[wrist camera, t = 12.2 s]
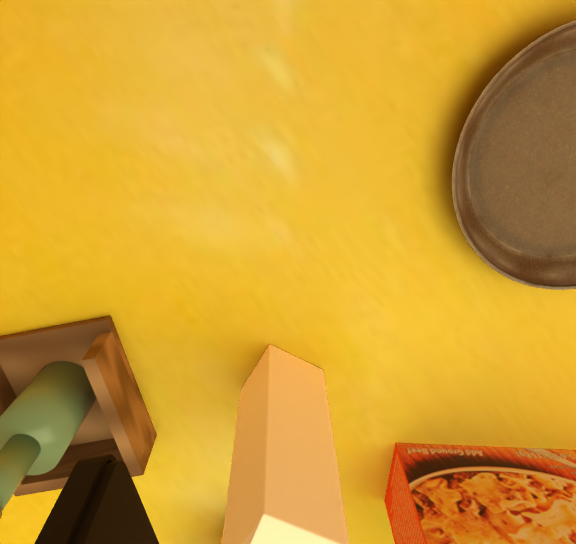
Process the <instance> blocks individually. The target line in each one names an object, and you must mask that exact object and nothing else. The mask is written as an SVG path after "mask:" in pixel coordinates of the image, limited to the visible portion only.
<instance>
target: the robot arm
mask: <svg viewBox="0 0 576 544" xmlns="http://www.w3.org/2000/svg"><path fill="white" fill-rule="evenodd" d="M35 544H159V542H158V540H157V537H156V535H155V533H154V530H153V528H152V526H151V523H150V521H149V518H148V516H147V514H146V511H145V509H144V506H143V504H142V502H141V499H140V497H139V494H138V492H137V490H136V487H135V485H134V483H133V480H132V478H131V475H130V473H129V471H128V468H127V466H126V464H125V462H123V461H117V460H116V458H115V456H113V455H112V454H107V455H101V456H95V457H89V458H83V459H80V460H79V461H78V462H77V463H76V465H75V466H74V468H73V470H72V472H71V474H70V476H69V478H68V480H67V482H66V484H65V486H64V487H63V489H62V491H61V493H60V495H59V497H58V499H57V501H56V503H55V505H54V507H53V509H52V511H51V513H50V515H49V517H48V519H47V520H46V522H45V524H44V526H43V528H42V530H41V532H40V534H39V536H38V538H37V540H36V542H35Z"/></svg>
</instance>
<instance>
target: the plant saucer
mask: <svg viewBox="0 0 576 544" xmlns="http://www.w3.org/2000/svg"><path fill="white" fill-rule="evenodd" d="M452 197H453V204H454V209H455V213H456V217H457V220H458V223H459V225H460V228H461V230H462V232H463V235H464V236H465V238H466V240H467V242H468V243H469V245H470V246H471V248H472V249H473V250H474V251H475V253H476V254H477V255H478V256H479V257H480V258H481V259H482V260H483V261H484V262H485V263H486V264H487V265H489V266H490V267H491V268H492V269H494V270H495V271H497V272H498V273H500V274H502V275H503V276H505V277H507V278H509V279H511V280H513V281H516V282H518V283H521V284H525V285H528V286H532V287H537V288H544V289H554V290H565V289H576V20H574V21H571V22H569V23H566V24H564V25H562V26H559V27H557V28H555V29H553V30H552V31H550V32H548V33H546V34H544V35H543V36H541V37H539V38H538V39H536V40H535V41H533V42H532V43H530V44H529V45H528V46H526V47H525V48H524V49H522V50H521V51H520V52H519V53H518V54H516V55H515V56H514V57H513V58H512V59H511V60H510V61H509V62H507V63H506V64H505V65H504V67H503V68H502V69H501V70H500V71H499V72H498V73H497V74H496V75H495V76H494V77H493V78H492V80H491V81H490V82H489V84H488V85H487V86H486V88H485V89H484V90H483V92H482V93H481V95H480V96H479V98H478V99H477V101H476V103H475V105H474V106H473V108H472V110H471V112H470V114H469V116H468V117H467V120H466V122H465V124H464V126H463V129H462V131H461V134H460V137H459V140H458V144H457V147H456V151H455V156H454V161H453V169H452Z"/></svg>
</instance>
